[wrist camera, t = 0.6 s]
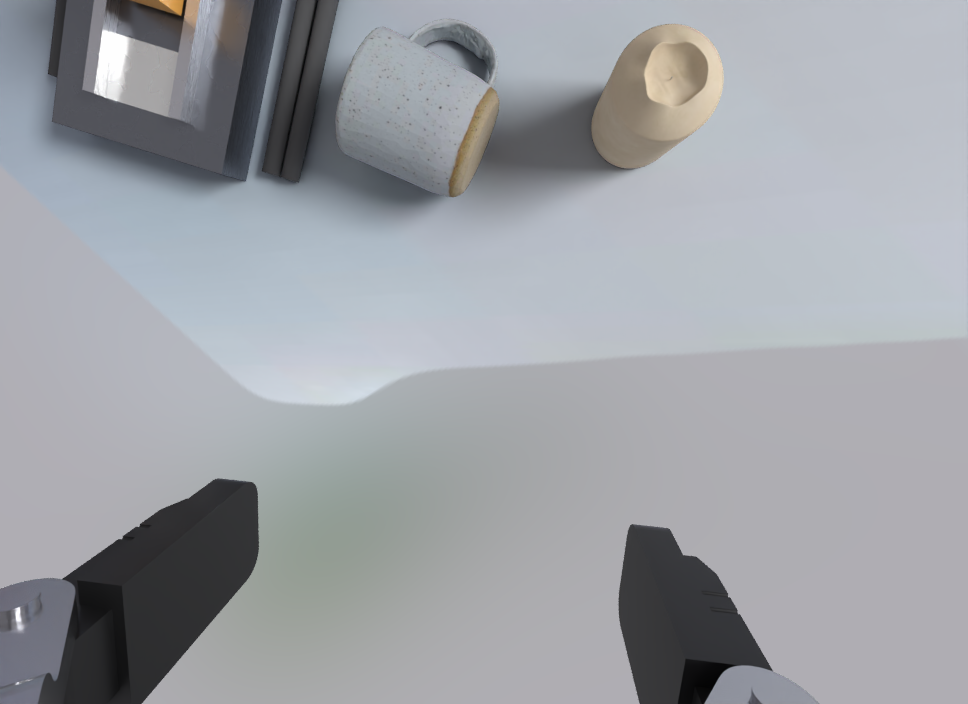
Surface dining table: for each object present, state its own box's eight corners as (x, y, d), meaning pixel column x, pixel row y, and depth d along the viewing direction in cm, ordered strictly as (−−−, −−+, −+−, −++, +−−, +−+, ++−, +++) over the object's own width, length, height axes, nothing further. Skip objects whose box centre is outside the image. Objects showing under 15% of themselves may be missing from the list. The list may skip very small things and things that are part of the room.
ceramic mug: (465, 210, 36) (450, 196, 28) (359, 164, 36) (316, 136, 28) (527, 59, 34) (529, 0, 26) (415, 10, 34) (385, -64, 26)
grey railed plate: (90, -178, 33) (74, -194, 32) (363, -96, 33) (357, -109, 32) (55, 106, 37) (39, 101, 36) (301, 183, 36) (294, 181, 35)
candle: (617, 186, 35) (654, 158, 25) (574, 115, 34) (594, 58, 24) (690, 137, 34) (757, 88, 24) (646, 64, 33) (698, -17, 23)
